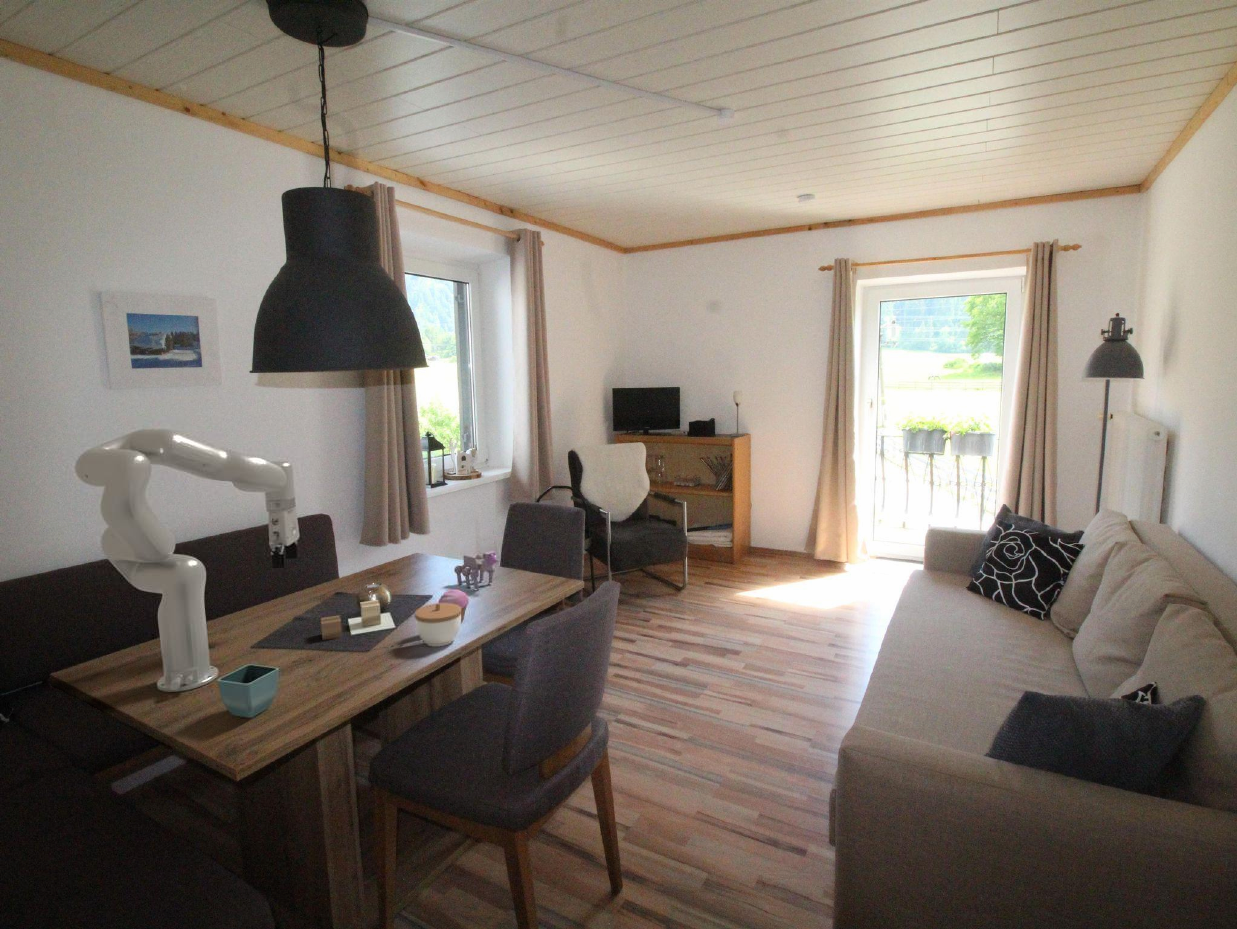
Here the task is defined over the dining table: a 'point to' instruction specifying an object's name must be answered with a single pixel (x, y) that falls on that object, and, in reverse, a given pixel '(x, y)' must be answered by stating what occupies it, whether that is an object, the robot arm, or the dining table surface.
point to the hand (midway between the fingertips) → (286, 563)
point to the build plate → (358, 628)
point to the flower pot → (249, 689)
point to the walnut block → (331, 627)
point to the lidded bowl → (438, 623)
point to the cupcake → (456, 600)
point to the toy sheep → (477, 567)
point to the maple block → (370, 613)
